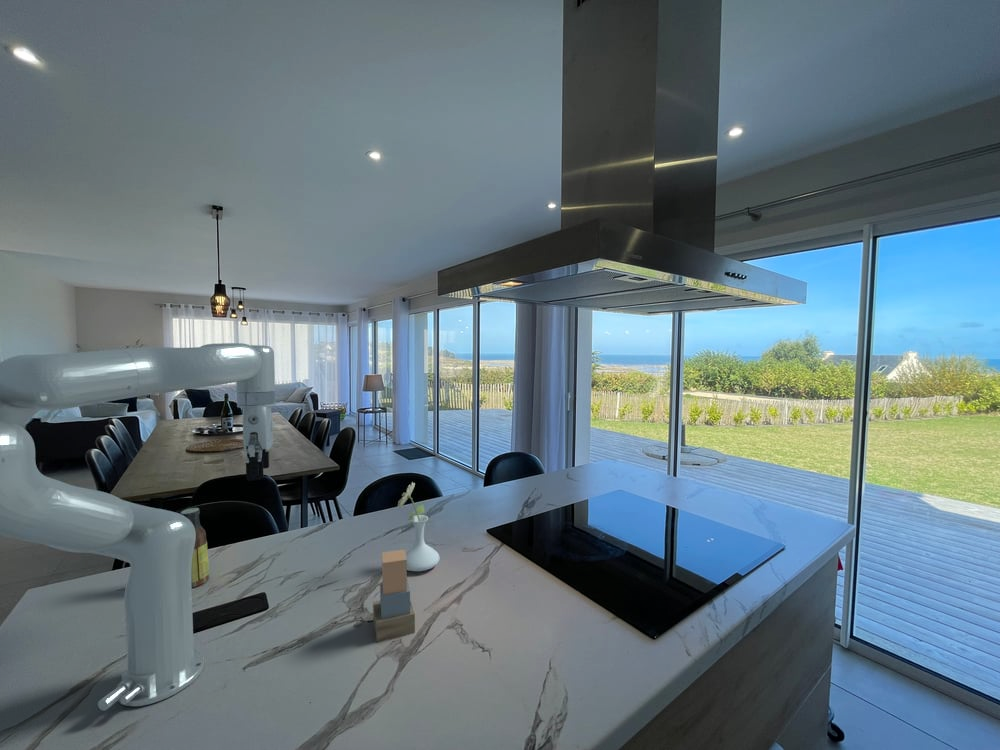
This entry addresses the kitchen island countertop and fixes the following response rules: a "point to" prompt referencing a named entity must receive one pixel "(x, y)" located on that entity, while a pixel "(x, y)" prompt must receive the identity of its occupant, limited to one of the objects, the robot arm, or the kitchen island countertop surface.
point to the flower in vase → (418, 539)
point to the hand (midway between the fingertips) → (258, 473)
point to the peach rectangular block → (394, 572)
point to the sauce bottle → (198, 550)
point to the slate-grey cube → (394, 603)
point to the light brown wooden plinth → (392, 624)
